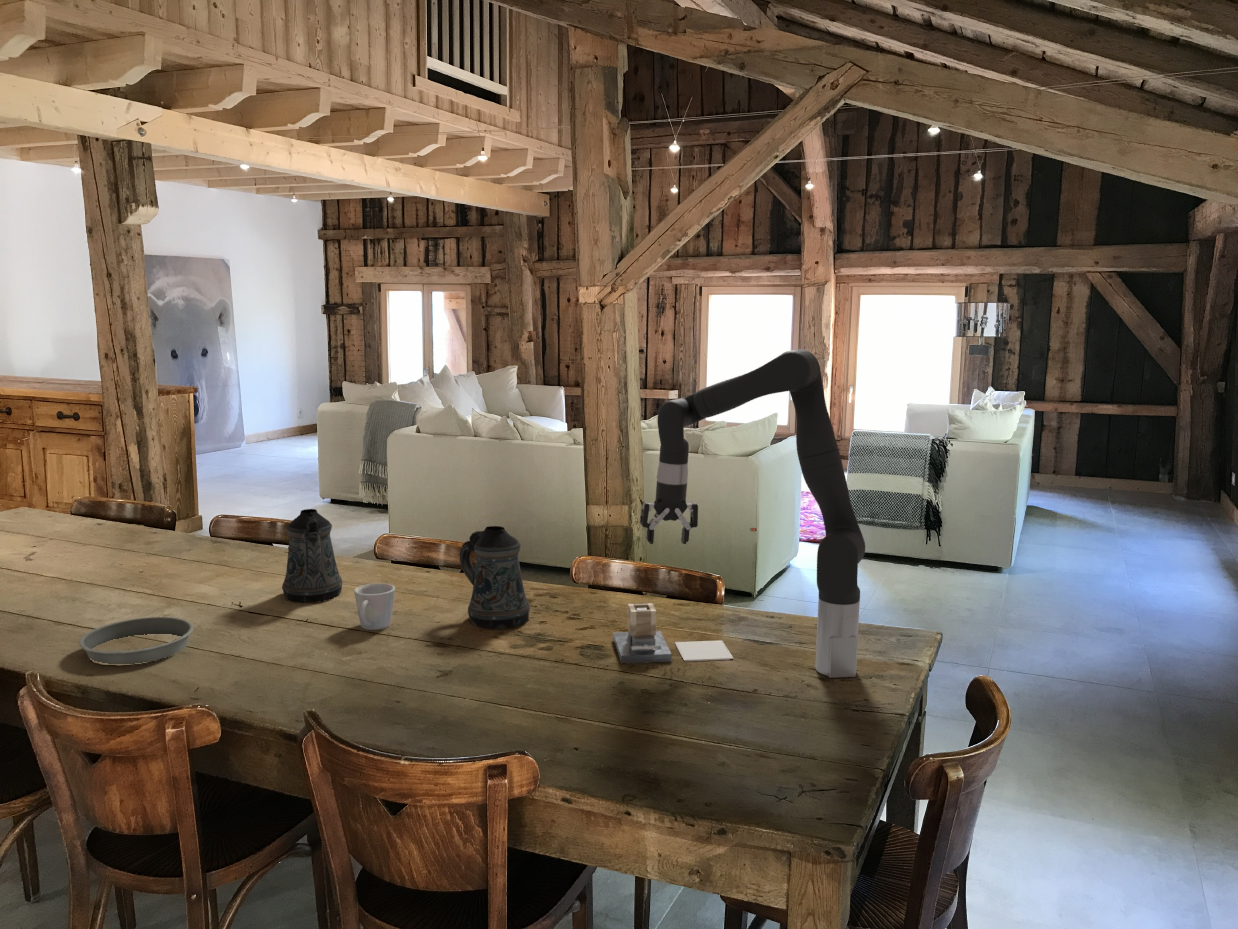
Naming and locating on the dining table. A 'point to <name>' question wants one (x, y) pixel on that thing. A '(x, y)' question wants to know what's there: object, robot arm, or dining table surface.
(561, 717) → the dining table surface
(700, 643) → the mat
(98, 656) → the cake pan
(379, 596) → the mug
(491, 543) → the beer stein
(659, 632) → the vise
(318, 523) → the dark grey patterned jug
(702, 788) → the dining table surface
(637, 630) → the sleeve
